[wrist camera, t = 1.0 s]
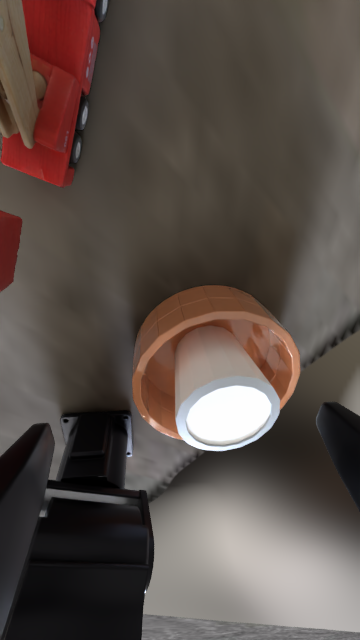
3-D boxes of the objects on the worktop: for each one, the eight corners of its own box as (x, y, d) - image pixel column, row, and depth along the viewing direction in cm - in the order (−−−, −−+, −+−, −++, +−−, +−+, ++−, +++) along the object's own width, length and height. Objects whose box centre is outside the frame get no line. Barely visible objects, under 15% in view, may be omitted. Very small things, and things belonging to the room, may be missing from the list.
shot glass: (260, 352, 23) (300, 414, 17) (201, 394, 25) (219, 465, 19) (213, 302, 20) (242, 357, 14) (150, 354, 22) (152, 423, 16)
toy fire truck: (120, -47, 12) (55, -608, 3) (63, 244, 17) (-13, 308, 9) (40, -100, 11) (-326, -1059, 2) (8, 225, 16) (-134, 277, 8)
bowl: (258, 398, 27) (278, 437, 23) (136, 404, 25) (134, 446, 21) (289, 285, 21) (322, 310, 17) (132, 284, 19) (128, 311, 15)
